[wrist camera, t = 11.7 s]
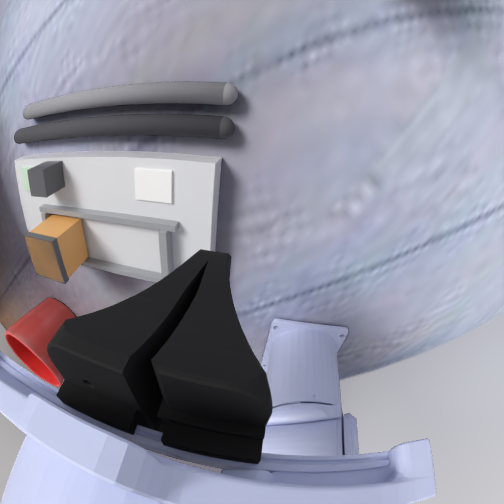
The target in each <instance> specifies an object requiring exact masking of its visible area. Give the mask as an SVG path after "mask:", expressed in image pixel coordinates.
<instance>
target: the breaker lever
mask: <svg viewBox="0 0 504 504" xmlns="http://www.w3.org/2000/svg"><path fill="white" fill-rule="evenodd" d="M24 238H25V242H26V245H27V248H28V251H29V254H30V258H31V261H32V263H33V266H34V269H35V272H36V274H38V275H40V276H43V277H46V278H49V279H52V280H55V281H57V282H60V283H63V284H66V283H67V282H68V280H69V279H68V278H69V277H70V276H71V275H72V274H73V273H74V271H75V270H76V269H77V268H78V267H79V266H80V265H81V264H82V263H83V262H84V261H85V260H86V259H87V258H88V257H89V255H88V251H87V246H86V241H85V237H84V232H83V226H82V221H81V218H75V217H68V216H61V215H54V214H52V215H51V216H50V217H48V218H47V219H46V220H44V221H43V222H42V223H40V224H39V225H38V226H36V227H35V228H34V229H32V230H31V231H30V232H26V233H25V234H24Z"/></svg>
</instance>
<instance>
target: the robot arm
mask: <svg viewBox="0 0 504 504" xmlns="http://www.w3.org/2000/svg"><path fill="white" fill-rule="evenodd" d="M230 266H231V256H230V255H229V254H227V253H221V252H215V251H209V250H203V249H200V250H199V251H198V252H196V253H195V254H194V255H193V256H191V257H190V258H189V259H188V260H187V261H185V262H184V263H183V264H182V265H180V266H179V267H178V268H176V269H175V270H174V271H172V272H171V273H170V274H168V275H167V276H166V277H164V278H163V279H161V280H160V281H158V282H157V283H156V284H154V285H152V286H151V287H149V288H147V289H146V290H144V291H142V292H140V293H138V294H137V295H135V296H133V297H130V298H128V299H126V300H124V301H122V302H120V303H117V304H115V305H113V306H110V307H108V308H105V309H102V310H99V311H96V312H93V313H90V314H86V315H82V316H79V317H75V318H71V319H66V320H65V321H64V322H63V324H62V325H61V326H60V328H59V329H58V331H57V332H56V333H55V335H54V336H53V338H52V339H51V341H50V342H49V344H48V345H47V352H48V355H49V357H50V359H51V361H52V362H53V364H54V365H55V367H56V368H57V370H58V371H59V372H60V374H61V375H62V377H63V378H64V379H65V380H64V382H63V384H62V386H61V387H60V389H57V388H55V387H54V386H52V385H50V384H48V383H47V382H45V381H43V380H42V379H40V378H38V377H37V376H35V375H34V374H32V373H30V372H29V371H27V370H26V369H24V368H23V367H21V366H20V365H18V364H17V363H16V362H14V361H13V360H11V359H10V358H9V357H7V356H6V355H5V354H3V353H2V352H0V412H1V413H2V414H3V415H4V416H5V417H6V418H8V419H9V420H10V421H11V422H12V423H14V424H15V425H16V426H17V427H18V428H19V429H20V430H21V431H23V432H24V433H25V434H27V435H26V437H25V439H24V442H23V444H22V446H21V449H20V451H19V453H18V456H17V458H16V460H15V463H14V466H13V468H12V471H11V474H10V476H9V479H8V482H7V485H6V488H5V491H4V494H3V497H2V500H1V504H412V503H416V502H419V501H422V500H425V499H428V498H431V497H434V496H435V495H436V483H435V475H434V466H433V459H432V452H431V446H430V440H429V439H422V440H416V441H411V442H406V443H402V444H399V445H397V446H395V447H393V448H392V449H391V450H390V451H387V452H378V453H369V454H359V448H358V435H357V434H358V433H357V422H356V421H357V420H356V418H355V417H353V416H351V414H350V413H348V414H344V418H343V413H342V408H341V394H340V382H339V372H338V362H337V352H338V351H339V349H340V347H341V345H342V344H343V342H344V340H345V338H346V336H347V334H348V328H346V327H339V326H330V325H322V324H313V323H306V322H298V321H291V320H284V319H274V320H273V321H272V324H271V328H270V332H269V336H268V340H267V344H266V347H265V351H264V355H263V359H262V363H261V365H260V363H259V361H258V360H257V358H256V356H255V355H254V353H253V351H252V349H251V347H250V345H249V343H248V341H247V339H246V337H245V335H244V332H243V330H242V328H241V325H240V323H239V320H238V317H237V314H236V311H235V307H234V304H233V299H232V295H231V289H230V282H229V277H230ZM275 326H278V327H275ZM342 334H343V335H342ZM266 373H267V375H266ZM146 449H147V450H150V451H153V452H156V453H159V454H163V455H166V456H169V457H173V458H176V459H180V460H184V461H188V462H192V463H196V464H201V465H205V466H210V467H215V468H221V469H223V470H222V471H221V473H217V472H212V471H208V470H205V469H201V468H197V467H194V466H190V465H187V464H184V463H180V462H177V461H174V460H171V459H168V458H165V457H163V456H159V455H157V454H154V453H151V452H149V451H147V450H146Z"/></svg>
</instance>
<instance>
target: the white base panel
mask: <svg viewBox="0 0 504 504" xmlns="http://www.w3.org/2000/svg"><path fill="white" fill-rule="evenodd" d="M14 161H15V169H16V176H17V182H18V188H19V194H20V199H21V204H22V209H23V213H24V217H25V221H26V225H27V229H28V232H30V231H31V230H32V229H34V228H35V227H36V226H38V225H39V224H40V223H42V222H43V221H44V220H46V219H47V218H48V217H50V216H51V215H52V214H54V215H61V216H68V217H75V218H81V221H82V226H83V232H84V237H85V241H86V246H87V251H88V255H89V257H88V258H87V259H86V260H85V261H84V262H83V263H82V264H81V265H84V266H88V267H91V268H95V269H99V270H103V271H108V272H112V273H116V274H120V275H124V276H129V277H133V278H137V279H142V280H146V281H151V282H156V283H157V282H158V281H160V280H161V279H163V278H164V277H166V276H167V275H168V274H170V273H171V272H172V271H174V270H175V269H176V268H178V267H179V266H180V265H182V264H183V263H184V262H185V261H187V260H188V259H189V258H190V257H191V256H193V255H194V254H195V253H196V252H198V251H199V250H200V249H203V250H209V251H215V250H216V232H217V216H218V202H219V188H220V175H221V163H222V157H215V156H204V155H193V154H181V153H165V152H144V151H72V152H53V153H39V154H28V155H25V156H23V157H21V158H18V159H16V160H14Z"/></svg>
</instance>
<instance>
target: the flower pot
mask: <svg viewBox="0 0 504 504" xmlns="http://www.w3.org/2000/svg"><path fill="white" fill-rule="evenodd" d="M75 317H76V316H75V315H74V314H73V313H72V312H71V310H70V309H69V308H68V307H66V306H65V305H64V304H63V303H61V302H60V301H57V300H56V299H54V298H47V299H45V300H44V301H43V302H41V303H40V304H39V305H37V306H36V307H34V308H33V309H32V310H31V311H29V312H28V313H27V314H25V315H24V316H23V317H22V318H21V319H19V320H18V321H17V322H16V323H15V324H13V325H12V326H11V327H10V328H9V329H8V330H7V331H6V332H5V338H6V340H7V342H8V344H9V346H10V347H11V349H12V350H13V352H14V353H15V354H16V355H17V357H18V358H20V360H21V361H22V362H23V363H24V364H25V365H26V366H27V367H28V368H29V369H31V370H32V371H33V372H34V373H35V374H36V375H38V376H39V377H40V378H42V379H43V380H45V381H46V382H48V383H50V384H52V385H54V386H57V387H60V386H61V385H62V382H63V380H64V378H63V377H62V375H61V374H60V372H59V371H58V370H57V368H56V367H55V365H54V364H53V362H52V361H51V359H50V357H49V355H48V352H47V345H48V344H49V342H50V341H51V339H52V338H53V336H54V335H55V333H56V332H57V331H58V329H59V328H60V326H61V325H62V324H63V322H64V321H65V320H66V319H71V318H75Z"/></svg>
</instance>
